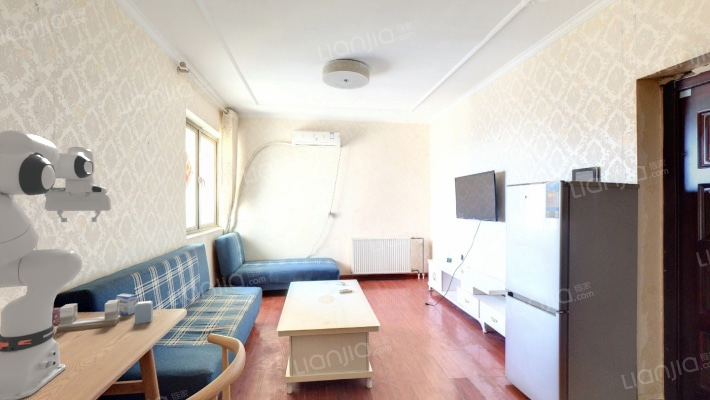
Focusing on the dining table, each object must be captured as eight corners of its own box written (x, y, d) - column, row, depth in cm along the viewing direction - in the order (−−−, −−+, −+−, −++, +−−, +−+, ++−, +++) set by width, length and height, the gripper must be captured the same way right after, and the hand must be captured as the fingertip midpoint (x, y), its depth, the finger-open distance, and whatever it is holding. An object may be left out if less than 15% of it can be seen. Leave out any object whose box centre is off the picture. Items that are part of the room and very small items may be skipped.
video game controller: (65, 325, 138) (72, 309, 142) (55, 324, 134) (63, 307, 137) (45, 324, 139) (52, 307, 143) (35, 323, 135) (43, 306, 138)
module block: (150, 322, 140) (151, 303, 140) (134, 324, 138) (135, 304, 138) (152, 318, 144) (152, 300, 144) (137, 320, 142) (137, 301, 142)
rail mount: (116, 325, 136) (116, 303, 136) (56, 332, 128) (56, 309, 128) (121, 318, 143) (121, 298, 143) (65, 324, 135) (65, 303, 135)
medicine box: (114, 313, 149) (115, 295, 149) (123, 310, 154) (124, 292, 154) (128, 315, 148) (128, 297, 148) (136, 312, 152) (137, 294, 152)
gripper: (42, 186, 119) (41, 223, 119) (109, 188, 129) (109, 222, 129) (47, 187, 124) (47, 222, 124) (112, 189, 135) (111, 221, 135)
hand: (79, 222), depth 127 cm, fingers open, 8 cm apart
